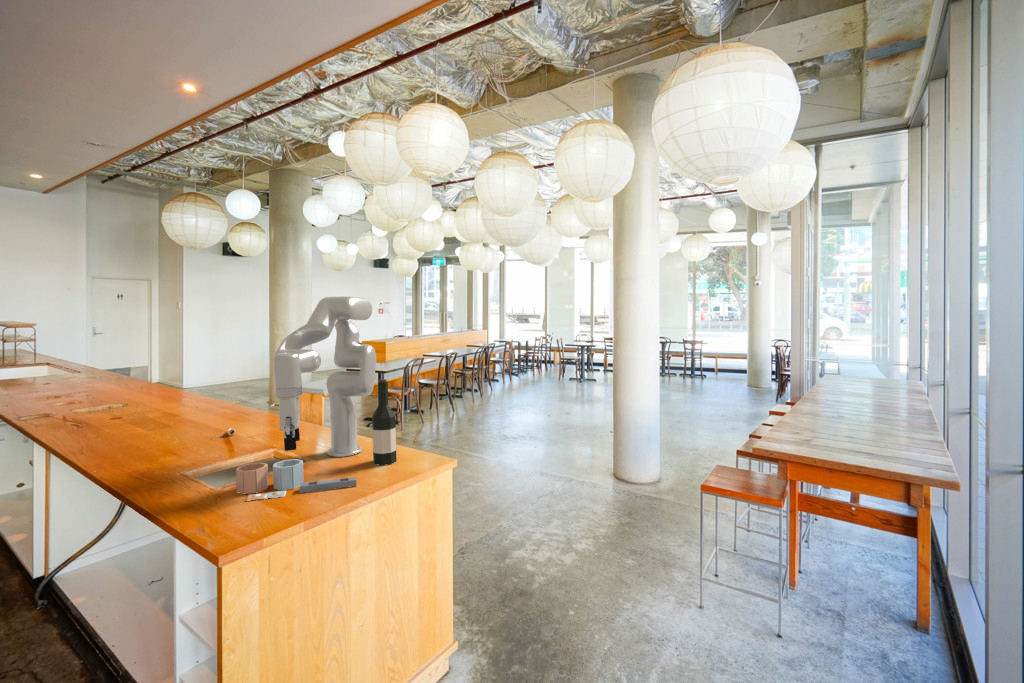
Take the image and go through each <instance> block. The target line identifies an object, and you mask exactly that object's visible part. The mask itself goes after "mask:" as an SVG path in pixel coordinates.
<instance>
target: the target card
mask: <svg viewBox="0 0 1024 683" xmlns="http://www.w3.org/2000/svg"><path fill="white" fill-rule="evenodd" d="M286 493H287V490H277V491H269V492H259V493H256V494H248V495H247V497H248V498H246V499H264V500H269V499H268V498H272V499H279V498H278V497H281V498H285V497H286Z"/></svg>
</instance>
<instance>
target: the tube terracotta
mask: <svg viewBox="0 0 1024 683" xmlns="http://www.w3.org/2000/svg"><path fill="white" fill-rule="evenodd" d="M235 482H236V483H235V484H236V485H235V489H236V493H237V492H240V493H245V494H246V493H256V492H259V493H261V492H260V491H262V492H264V491H263V490H265V491H267V490H268V489H267V488H269V487H270V484H269V482H270V481H269V463H265V462H251V463H247V464H246V463H245V464H243V465H239V466H238V467H237V468H236V469H235ZM268 486H269V487H268ZM266 489H267V490H266ZM256 494H257V493H256Z"/></svg>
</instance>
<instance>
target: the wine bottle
mask: <svg viewBox="0 0 1024 683" xmlns="http://www.w3.org/2000/svg"><path fill="white" fill-rule="evenodd" d="M388 385H389V382H388V381H387V379H386V378H381V379H379V381H378V383H377V388H378V393H377V394H378V395H377V396H378V405H377V407H376V409H375V410H374V413H373V414H372V416H371V423H372V426H371V427H372V457H373V458H372V462H373V464H374V465H375V464H379V465H378V466H386V465H385V464H389V465H392V463H393V464H395V463H396V461H397V429H396V427H397V426H396V421H397V420H396V414H394V412H393V410H392V408H391V407H390V405H389V386H388ZM394 462H395V463H394Z"/></svg>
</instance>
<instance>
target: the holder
mask: <svg viewBox="0 0 1024 683" xmlns="http://www.w3.org/2000/svg"><path fill="white" fill-rule="evenodd" d="M349 486H355V487H357V477H356V476H352V477H344V478H335V479H325V480H318V481H317V480H316V481H309V482H304V483H301V484H300V487H299V493H300V494H303V493H304V492H305V493H312V491H314V492H321V491H320V490H322V491H328V490H327V489H330V490H335V489H334V488H338V489H341V488H340V487H346V488H350V487H349Z"/></svg>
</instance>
